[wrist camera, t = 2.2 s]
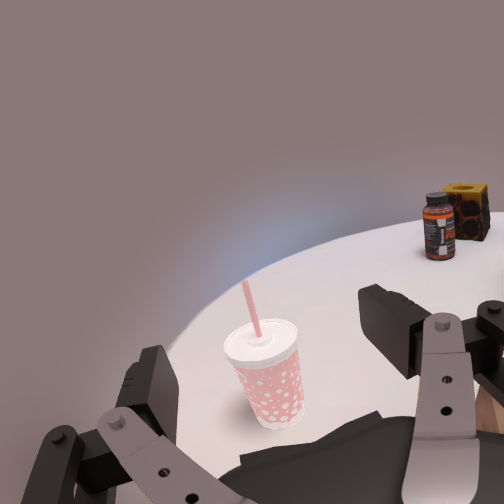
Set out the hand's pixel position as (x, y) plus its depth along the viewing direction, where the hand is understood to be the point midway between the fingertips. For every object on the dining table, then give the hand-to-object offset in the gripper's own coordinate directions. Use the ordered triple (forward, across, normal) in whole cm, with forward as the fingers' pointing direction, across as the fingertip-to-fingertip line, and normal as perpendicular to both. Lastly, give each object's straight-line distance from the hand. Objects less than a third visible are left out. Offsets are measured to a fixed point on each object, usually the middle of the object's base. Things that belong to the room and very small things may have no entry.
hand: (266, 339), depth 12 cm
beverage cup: (+12, 0, +16) cm, 20 cm away
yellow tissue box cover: (+37, -50, +15) cm, 64 cm away
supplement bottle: (+32, -37, +15) cm, 51 cm away
